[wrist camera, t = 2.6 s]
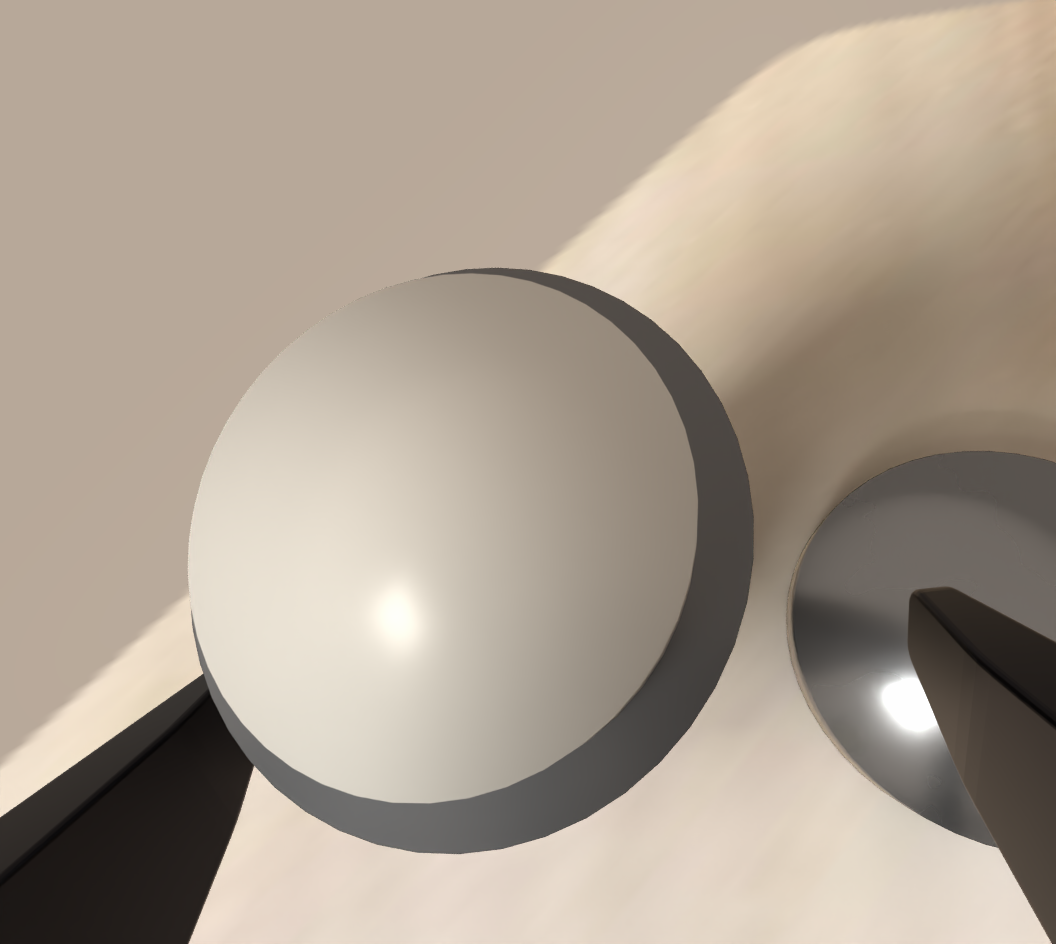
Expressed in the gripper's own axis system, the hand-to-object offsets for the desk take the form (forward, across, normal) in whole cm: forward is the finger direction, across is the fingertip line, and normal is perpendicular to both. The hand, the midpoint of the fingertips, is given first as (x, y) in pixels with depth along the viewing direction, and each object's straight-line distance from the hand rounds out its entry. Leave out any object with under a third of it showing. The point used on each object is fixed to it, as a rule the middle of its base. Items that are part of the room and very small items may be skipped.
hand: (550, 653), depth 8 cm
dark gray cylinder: (+7, 0, +6) cm, 9 cm away
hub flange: (+6, -8, +6) cm, 12 cm away
